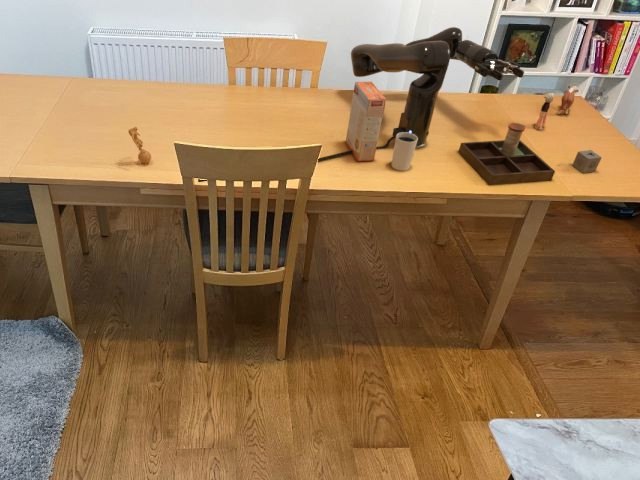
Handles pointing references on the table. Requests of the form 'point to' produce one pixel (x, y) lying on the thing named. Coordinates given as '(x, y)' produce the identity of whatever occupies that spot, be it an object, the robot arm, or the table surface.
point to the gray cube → (586, 161)
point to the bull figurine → (568, 98)
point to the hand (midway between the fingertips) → (512, 76)
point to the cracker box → (365, 120)
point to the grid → (505, 163)
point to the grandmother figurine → (544, 111)
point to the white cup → (404, 150)
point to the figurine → (143, 155)
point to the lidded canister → (512, 138)
